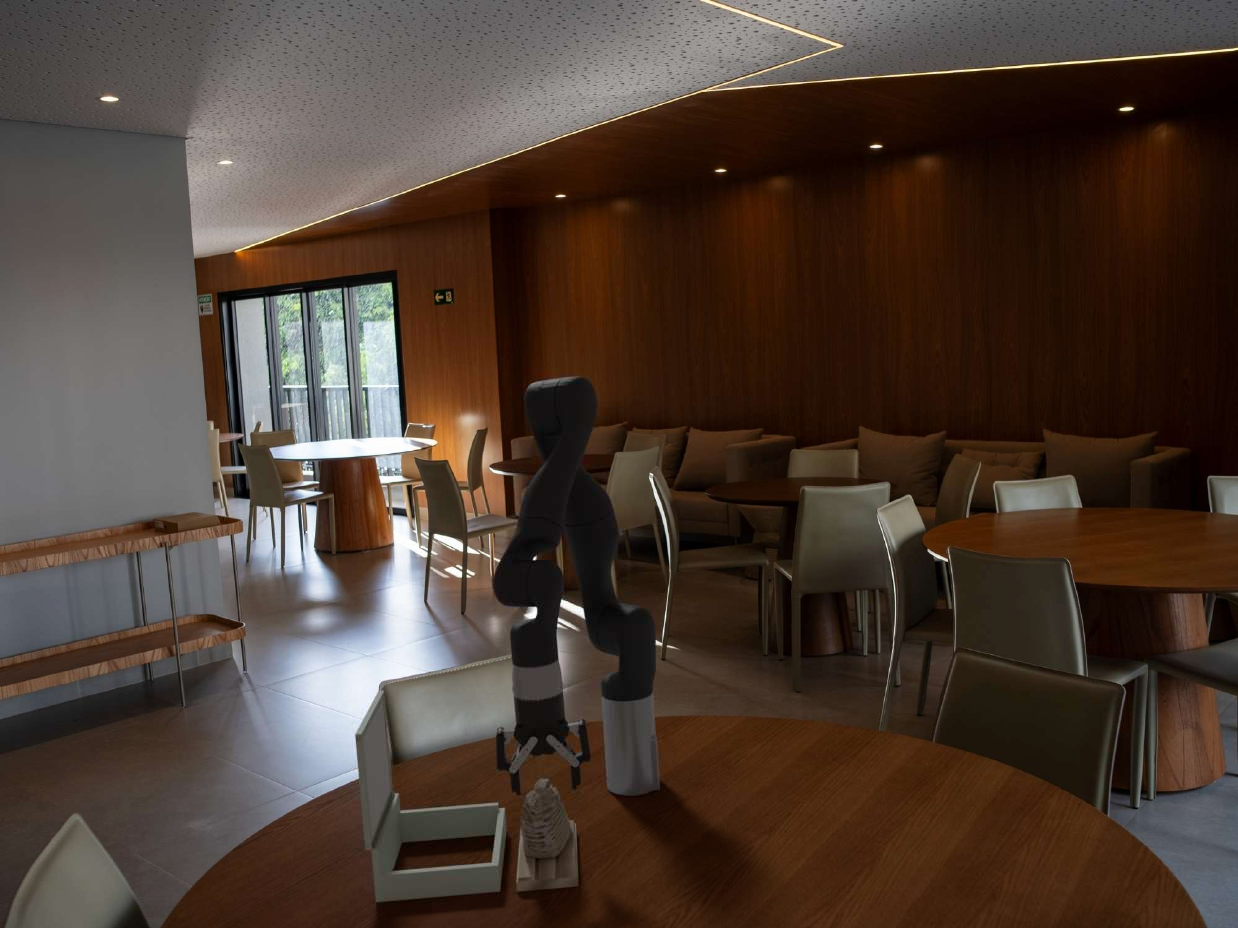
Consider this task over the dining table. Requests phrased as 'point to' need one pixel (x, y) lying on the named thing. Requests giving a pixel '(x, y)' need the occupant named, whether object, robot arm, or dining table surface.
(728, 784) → the dining table surface
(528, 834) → the fossil tooth
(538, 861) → the slatted stand
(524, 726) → the robot arm
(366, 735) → the cold frame
